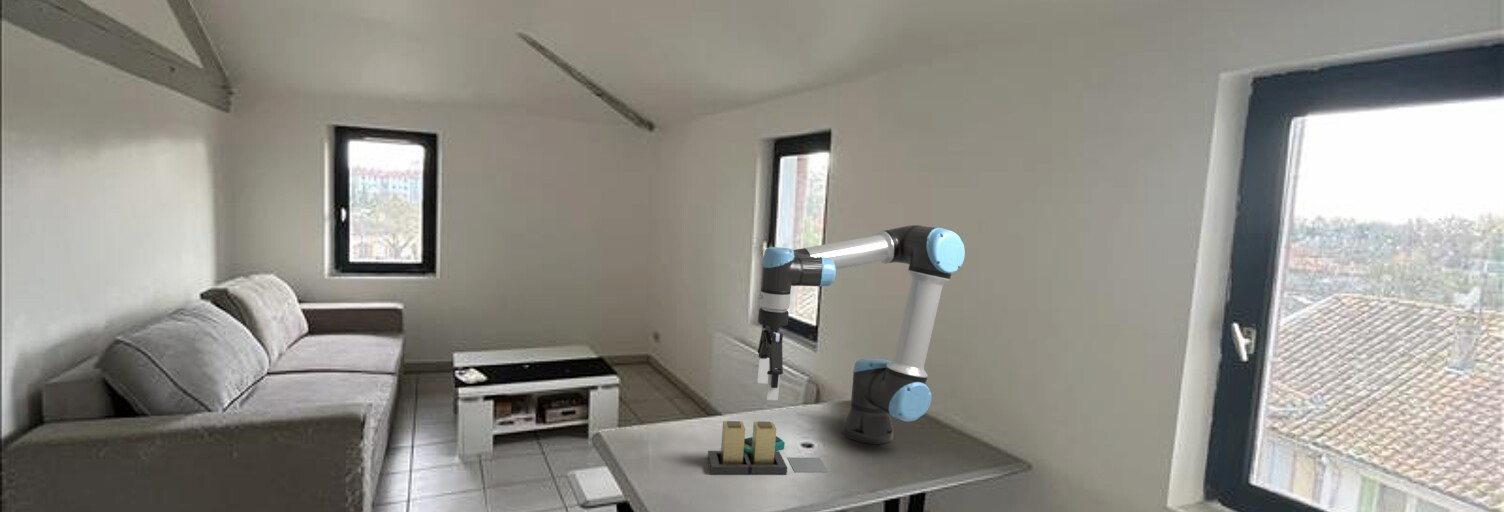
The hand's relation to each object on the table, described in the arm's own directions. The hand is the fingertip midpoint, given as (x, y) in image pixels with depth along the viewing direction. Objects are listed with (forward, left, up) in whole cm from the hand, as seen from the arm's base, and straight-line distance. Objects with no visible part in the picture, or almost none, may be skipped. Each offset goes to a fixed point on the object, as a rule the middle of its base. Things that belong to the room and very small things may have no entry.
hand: (767, 391), depth 172 cm
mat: (-13, -1, -21) cm, 24 cm away
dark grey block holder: (+4, 0, -21) cm, 21 cm away
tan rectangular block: (0, 0, -20) cm, 20 cm away
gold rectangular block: (+8, 0, -20) cm, 22 cm away
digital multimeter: (-1, -11, -20) cm, 23 cm away
